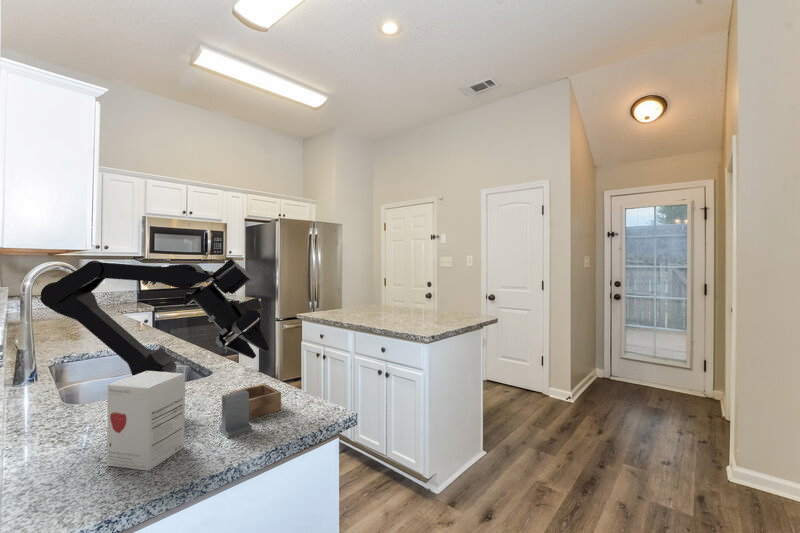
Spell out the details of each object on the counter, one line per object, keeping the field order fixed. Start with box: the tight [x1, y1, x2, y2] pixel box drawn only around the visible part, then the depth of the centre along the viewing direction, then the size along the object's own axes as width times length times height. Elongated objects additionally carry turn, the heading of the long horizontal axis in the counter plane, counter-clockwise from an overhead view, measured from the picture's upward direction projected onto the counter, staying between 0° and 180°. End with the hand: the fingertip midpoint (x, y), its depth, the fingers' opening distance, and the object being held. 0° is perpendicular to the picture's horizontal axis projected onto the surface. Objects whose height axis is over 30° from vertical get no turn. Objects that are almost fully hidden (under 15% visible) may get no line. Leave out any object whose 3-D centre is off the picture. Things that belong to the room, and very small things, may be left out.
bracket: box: [218, 390, 253, 440], centre depth 81 cm, size 5×5×8 cm
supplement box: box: [106, 371, 186, 472], centre depth 70 cm, size 9×9×15 cm
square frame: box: [229, 383, 282, 421], centre depth 92 cm, size 9×9×4 cm
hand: (260, 354), depth 91 cm, fingers open, 9 cm apart
